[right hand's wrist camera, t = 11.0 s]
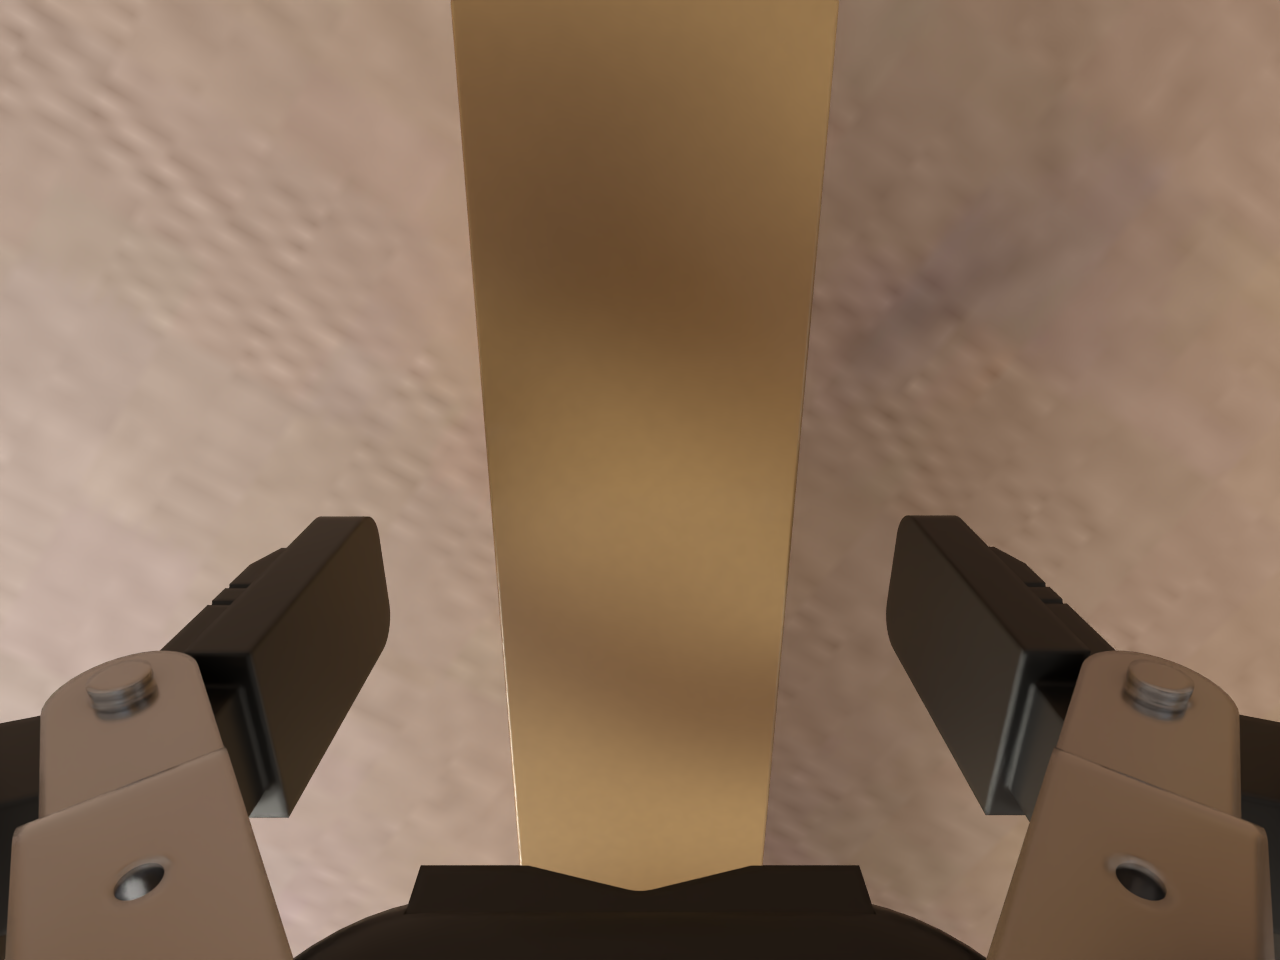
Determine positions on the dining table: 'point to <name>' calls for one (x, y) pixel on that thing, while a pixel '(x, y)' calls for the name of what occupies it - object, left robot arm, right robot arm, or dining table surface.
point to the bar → (643, 404)
